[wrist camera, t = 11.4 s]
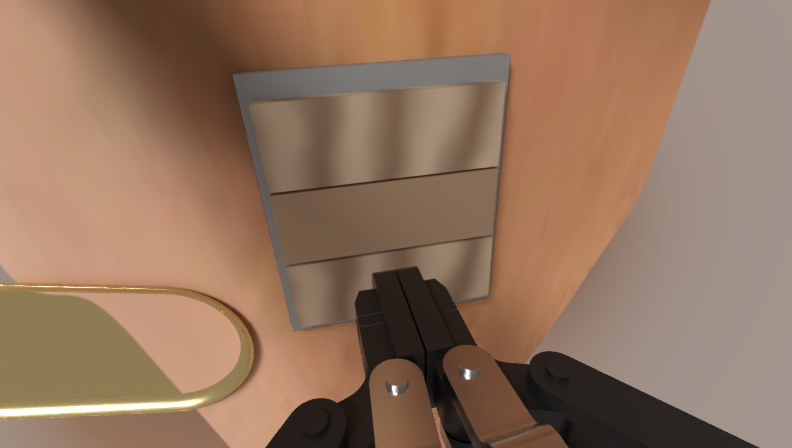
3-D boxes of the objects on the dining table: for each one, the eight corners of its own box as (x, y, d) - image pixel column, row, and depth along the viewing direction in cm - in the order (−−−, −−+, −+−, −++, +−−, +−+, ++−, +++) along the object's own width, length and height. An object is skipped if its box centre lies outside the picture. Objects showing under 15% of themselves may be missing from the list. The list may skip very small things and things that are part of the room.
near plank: (270, 186, 36) (268, 193, 35) (251, 100, 32) (248, 104, 31) (492, 160, 39) (498, 166, 38) (498, 80, 36) (505, 82, 34)
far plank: (298, 318, 44) (298, 328, 42) (286, 260, 40) (285, 268, 39) (483, 287, 47) (488, 295, 45) (486, 230, 43) (492, 237, 42)
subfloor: (293, 322, 46) (292, 341, 43) (235, 72, 32) (228, 77, 30) (483, 290, 50) (493, 305, 47) (503, 53, 36) (518, 56, 33)
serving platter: (-164, 270, 34) (-183, 281, 33) (257, 282, 43) (255, 290, 42) (-86, 412, 42) (-99, 426, 41) (254, 397, 51) (252, 408, 50)
